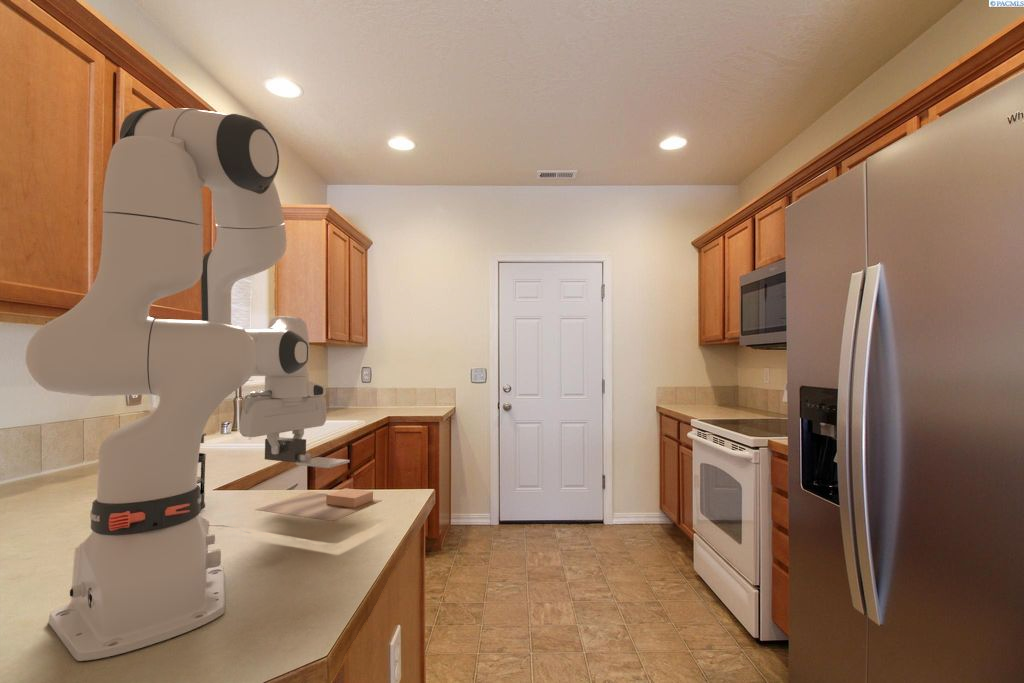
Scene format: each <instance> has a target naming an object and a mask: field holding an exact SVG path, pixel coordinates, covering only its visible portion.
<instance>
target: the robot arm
mask: <svg viewBox="0 0 1024 683" xmlns="http://www.w3.org/2000/svg"><path fill="white" fill-rule="evenodd" d="M279 154H280V152H279V148H278V144H277V143H276V140H275V138H274V136H273V135H272V133H271V132H270V131H269V130H268V128H267V127H266V126H265V125H264V124H263V122H261V121H259V120H257V119H255V118H252V117H250V116H246V115H243V114H238V113H230V114H229V113H227V114H226V113H223V112H217V111H216V112H215V111H208V110H201V109H198V108H189V107H187V108H185V107H179V108H177V107H175V108H174V107H173V108H159V107H147V108H141V109H138V110H135V111H132V112H130V113H129V114H128V115H127V116H126V117H125V118H124V119H123V121H122V123H121V126H120V131H119V140H117V141H116V142H115V143H114V144H113V146H112V147H111V151H110V155H109V157H108V162H107V166H106V171H105V177H104V184H103V194H102V234H101V235H102V236H101V238H102V239H101V251H100V259H99V266H98V271H97V273H96V278H95V280H94V282H92V286H91V287H90V288H89V290H88V291H87V293H86V294H85V295H84V296H83V298H82V299H80V300H79V302H78V303H76V305H74V306H73V307H72V308H71V309H69V310H68V311H67V312H65V313H63V314H62V315H59V316H58V317H56V318H53V319H52V320H49V321H48V322H47V323H45V324H44V325H42V326H41V327H40V328H39V329H38V330H37V331H36V332H35V333H34V334H33V335H32V337H31V338H30V340H29V342H28V344H27V346H26V351H25V363H26V367H27V369H28V372H29V374H30V375H31V378H33V379H34V381H35V382H36V383H37V384H38V385H39V386H40V387H42V388H43V389H45V390H46V391H48V392H53V393H61V394H69V395H78V396H87V397H88V396H89V397H104V396H105V397H107V396H108V397H109V396H110V397H112V396H113V397H114V396H143V395H152V396H158V397H159V402H158V405H157V407H156V408H155V410H154V411H153V412H151V413H149V414H148V415H145V416H143V417H141V418H138V419H136V420H133V421H130V422H128V423H127V424H124V425H123V426H121V427H118V428H117V429H115V430H113V431H112V432H110V433H109V434H108V435H107V436H106V437H105V438H104V439H103V441H102V442H101V445H100V447H99V451H98V466H97V468H98V469H97V487H96V488H97V490H96V498H95V499H94V500H93V501H92V506H91V510H90V514H89V517H90V529H91V533H90V535H88V537H86V539H85V540H83V541H82V542H80V544H79V545H78V546H76V547H75V548H74V553H73V555H74V556H73V568H72V580H71V581H72V582H71V587H70V590H69V597H70V602H68V603H66V604H64V605H61V606H60V607H57V608H56V609H54V610H52V611H51V612H49V617H48V624H49V626H51V628H52V629H53V631H54V632H55V634H56V636H58V638H59V639H60V640H61V642H62V643H63V645H64V646H65V647H66V648H67V651H69V653H70V654H71V655H72V657H73V658H74V659H75V660H76V661H79V662H82V661H83V662H84V661H92V660H99V659H103V658H104V659H105V658H108V657H111V656H112V657H113V656H117V655H120V654H124V653H127V652H128V653H129V652H131V651H135V650H139V649H141V648H144V647H149V646H151V645H153V644H157V643H160V642H164V641H166V640H170V639H171V638H174V637H177V636H179V635H180V636H181V635H183V634H185V633H188V632H190V631H193V630H194V629H197V628H199V627H201V626H204V625H206V624H208V623H210V622H212V621H214V620H216V619H217V618H219V617H220V616H222V615H223V614H225V612H226V582H225V578H226V574H225V573H226V572H225V568H224V566H222V565H221V562H222V560H221V559H222V550H221V548H217V549H212V550H209V546H210V545H214V544H216V543H215V541H216V536H215V535H216V534H215V533H214V534H213V533H212V534H209V533H210V531H209V529H210V527H209V526H210V521H209V520H207V519H206V518H205V517H202V516H201V515H200V514H201V512H202V510H201V494H200V485H198V484H197V477H198V469H199V468H198V467H199V463H198V459H199V453H200V448H201V444H202V443H201V438H202V434H203V433H204V431H205V428H206V426H207V423H208V421H209V419H210V418H211V416H212V414H213V413H214V411H215V410H216V409H217V408H218V407H219V405H221V403H223V401H224V400H225V399H226V398H227V397H228V396H230V395H231V394H232V393H234V392H235V391H236V390H238V389H240V388H241V387H243V386H244V385H245V384H246V383H247V382H248V381H249V380H250V379H251V377H264V390H261V391H250V392H249V393H248V394H246V395H245V397H243V399H242V410H241V414H240V421H239V433H240V435H241V436H242V437H245V438H258V437H262V436H266V439H267V440H268V442H269V443H270V445H271V453H272V454H280V453H282V452H283V450H282V449H283V445H279V442H278V440H277V438H279V437H280V434H282V433H287V432H292V435H293V437H292V438H295V439H303V437H304V435H305V429H312V428H319V427H322V426H324V425H325V423H326V422H327V401H326V398H325V397H324V396H325V395H326V392H327V388H326V387H325V386H324V385H321V384H318V383H315V382H314V381H311V380H309V379H310V378H309V377H310V376H309V374H310V373H309V371H308V362H309V359H310V342H309V341H310V340H309V339H310V338H309V331H308V325H307V322H306V321H305V320H303V319H302V318H299V317H295V316H289V315H279V316H274V317H272V318H270V319H269V322H268V328H263V329H259V328H258V329H252V328H248V329H245V328H243V327H241V326H235V325H233V324H232V288H234V285H235V283H236V282H238V281H241V280H243V279H245V278H248V277H251V276H254V275H258V274H260V273H263V272H265V271H267V270H269V269H271V268H272V267H273V266H275V265H276V264H278V263H279V261H280V260H282V258H283V257H284V255H285V253H286V251H287V250H286V249H287V233H286V225H285V219H284V218H285V217H284V213H283V208H282V203H281V199H280V195H279V193H278V189H277V187H276V186H277V185H276V183H275V178H276V177H277V174H278V170H279V165H280V155H279ZM203 187H206V188H208V189H209V190H210V192H211V198H212V199H211V201H212V202H211V203H212V210H213V216H214V222H215V228H216V229H215V230H216V238H215V244H214V246H213V247H212V249H211V250H209V251H207V252H206V253H205V254H204V206H203V205H204V204H203V196H202V195H203V194H202V189H203ZM199 281H200V299H201V300H200V302H201V303H200V304H201V305H200V307H201V320H195V319H193V320H192V319H173V318H172V319H168V318H167V319H166V318H156V317H152V316H150V309H151V306H152V304H153V303H154V302H156V301H158V300H160V299H163V298H166V297H170V296H172V295H176V294H178V293H181V292H184V291H186V290H189V289H190V288H192V287H194V286H195V285H196V284H197V283H198V282H199Z"/></svg>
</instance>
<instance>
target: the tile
mask: <svg viewBox="0 0 1024 683" xmlns="http://www.w3.org/2000/svg"><path fill="white" fill-rule="evenodd" d="M327 494H328V495H326V504H328V505H336V506H344V507H351V508H356V507H358V506H360V505H363V504H365V503H368V502H370V501H372V500H373V499H374V491H372V490H366V489H365V490H364V489H357V488H356V489H355V488H348V487H347V488H346V487H345V488H342V489H339V490H337V491H334V492H331V493H327Z"/></svg>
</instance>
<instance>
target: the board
mask: <svg viewBox="0 0 1024 683" xmlns="http://www.w3.org/2000/svg"><path fill="white" fill-rule="evenodd" d="M328 494H329V493H324V492H323V493H321V492H313V491H308V492H305V493H301V494H299V495H296V496H292V497H289V498H286V499H282V500H281V501H277V502H274V503H271V504H268V505H265V506H261V507H258V508H256V509H254V510H255V511H262V512H269V513H275V514H282V515H287V516H294V517H296V516H297V517H303V518H309V519H316V520H323V521H328V522H329V521H330V522H335V521H337V520H340V519H342V518H344V517H347V516H349V515H352V514H354V513H357V512H359V511H361V510H363V509H366V508H368V507H370V506H373V505H375V504H378V503H380V502H382V501H383V500H381V499H374V498H373V500H372V501H370V502H368V503H365V504H363V505H360V506H358V507H356V508H351V507H344V506H336V505H328V504H326V495H328Z"/></svg>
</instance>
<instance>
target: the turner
mask: <svg viewBox="0 0 1024 683" xmlns="http://www.w3.org/2000/svg"><path fill="white" fill-rule="evenodd" d="M277 440H278V442H279V445H283V449H282V450H283V452H282V453H280V454H272V453H271V445H270V443H269V442H268V440H267V438H265V439H264V460H267V461H268V460H269V461H277V462H286V463H287V462H288V463H295V465H296V466H306V467H313V468H325V469H330V468H334V467H337V466H342V465H345V464H348V463H350V461H351V460H350V459H342V458H332V457H322V456H317V457H313V458H312V453H308V452H307V439H306V438H305V439H304V438H302V439H295V438H293V437H280V436H279V438H277Z"/></svg>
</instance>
